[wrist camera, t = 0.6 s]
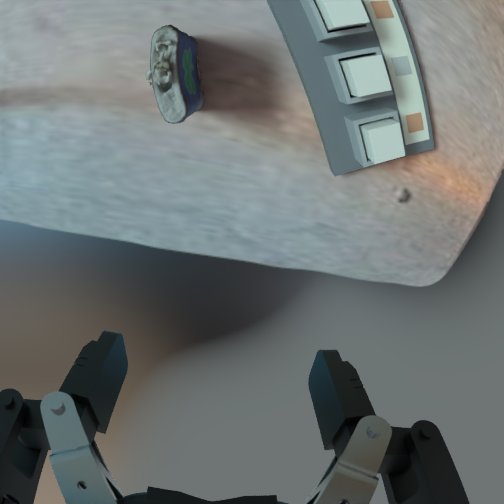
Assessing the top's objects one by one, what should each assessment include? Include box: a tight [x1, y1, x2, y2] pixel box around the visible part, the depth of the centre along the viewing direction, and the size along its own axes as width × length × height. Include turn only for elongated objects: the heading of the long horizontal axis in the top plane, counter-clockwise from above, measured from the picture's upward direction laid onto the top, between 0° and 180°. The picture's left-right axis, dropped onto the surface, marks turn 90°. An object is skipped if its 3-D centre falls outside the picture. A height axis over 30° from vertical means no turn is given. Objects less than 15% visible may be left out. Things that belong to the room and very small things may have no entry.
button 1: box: [358, 118, 405, 164], centre depth 25 cm, size 4×4×3 cm
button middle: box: [339, 55, 392, 97], centre depth 21 cm, size 4×4×3 cm
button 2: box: [314, 0, 370, 31], centre depth 18 cm, size 4×4×3 cm
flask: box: [146, 25, 204, 124], centre depth 22 cm, size 9×3×11 cm, turn 4°
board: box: [267, 0, 434, 176], centre depth 23 cm, size 22×14×5 cm, turn 21°
